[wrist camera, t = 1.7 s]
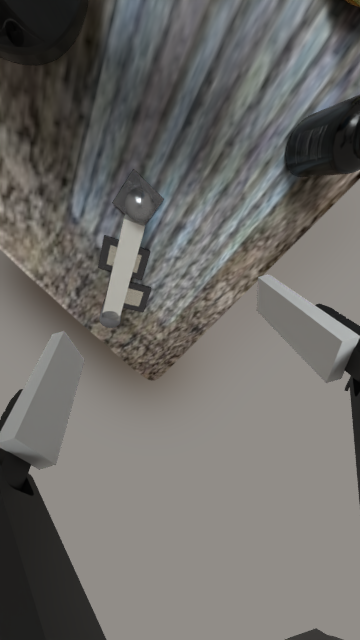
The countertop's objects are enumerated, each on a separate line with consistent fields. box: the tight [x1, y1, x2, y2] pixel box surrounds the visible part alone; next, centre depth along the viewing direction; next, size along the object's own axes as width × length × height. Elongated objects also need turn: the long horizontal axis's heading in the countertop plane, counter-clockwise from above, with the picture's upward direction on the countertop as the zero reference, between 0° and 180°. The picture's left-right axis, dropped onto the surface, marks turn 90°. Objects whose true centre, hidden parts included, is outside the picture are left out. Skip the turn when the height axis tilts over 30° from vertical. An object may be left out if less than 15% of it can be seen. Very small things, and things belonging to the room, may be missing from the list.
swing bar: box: [99, 214, 145, 328], centre depth 29 cm, size 16×3×5 cm, turn 158°
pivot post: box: [112, 169, 164, 225], centre depth 24 cm, size 5×5×9 cm
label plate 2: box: [106, 276, 151, 312], centre depth 35 cm, size 7×5×1 cm
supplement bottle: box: [286, 95, 360, 177], centre depth 24 cm, size 7×7×12 cm
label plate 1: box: [98, 235, 150, 280], centre depth 32 cm, size 7×5×1 cm
